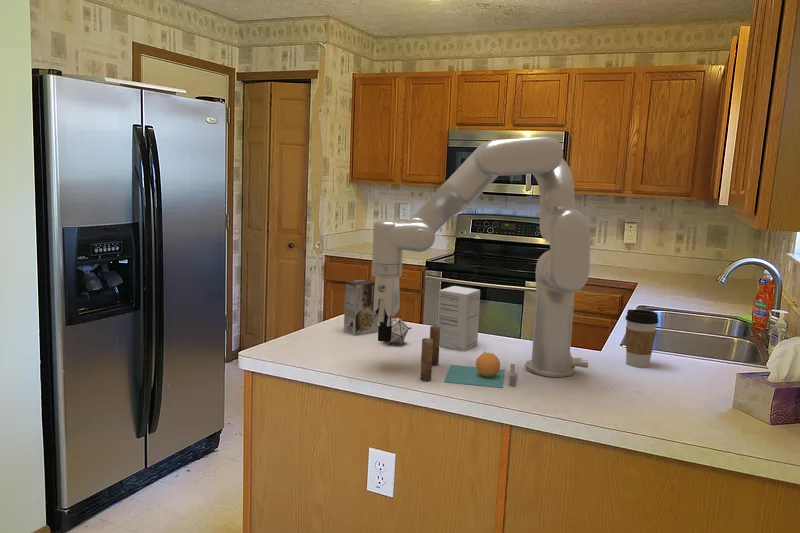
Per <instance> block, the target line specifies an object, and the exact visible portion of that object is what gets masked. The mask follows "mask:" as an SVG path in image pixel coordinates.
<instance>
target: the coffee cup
mask: <svg viewBox="0 0 800 533" xmlns="http://www.w3.org/2000/svg"><path fill="white" fill-rule="evenodd" d="M658 316H659V315H658V313H657V312H654V311H651V310H644V309H627V312H626V315H625V320H626V326H625V345H626V346H625V349H626V350H625V354H626V355H625V356H626V358H625V363H626V364H627V365H628V366H631V367H634V368H641V369H643V368H644V369H645V368H648V367H650V364H651V359H652V358H651V357H652V353H653V348H654V343H655V338H656V334H657V324H659V317H658Z"/></svg>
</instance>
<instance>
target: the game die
mask: <svg viewBox="0 0 800 533" xmlns="http://www.w3.org/2000/svg"><path fill="white" fill-rule="evenodd" d="M401 318H402V315H399V317H396V318H394V317H392V324H391V325H392V336H391V340H390V342H388V346H389V345H390V346H391V344H394V343H402V344H404V345H405V343H406V342H405V338H406V336H407V334H408V332H409V331H410V330H412V327H411V326H410V327H409V326H407V324H406V323H405V322H404V321H403V319H401Z"/></svg>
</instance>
